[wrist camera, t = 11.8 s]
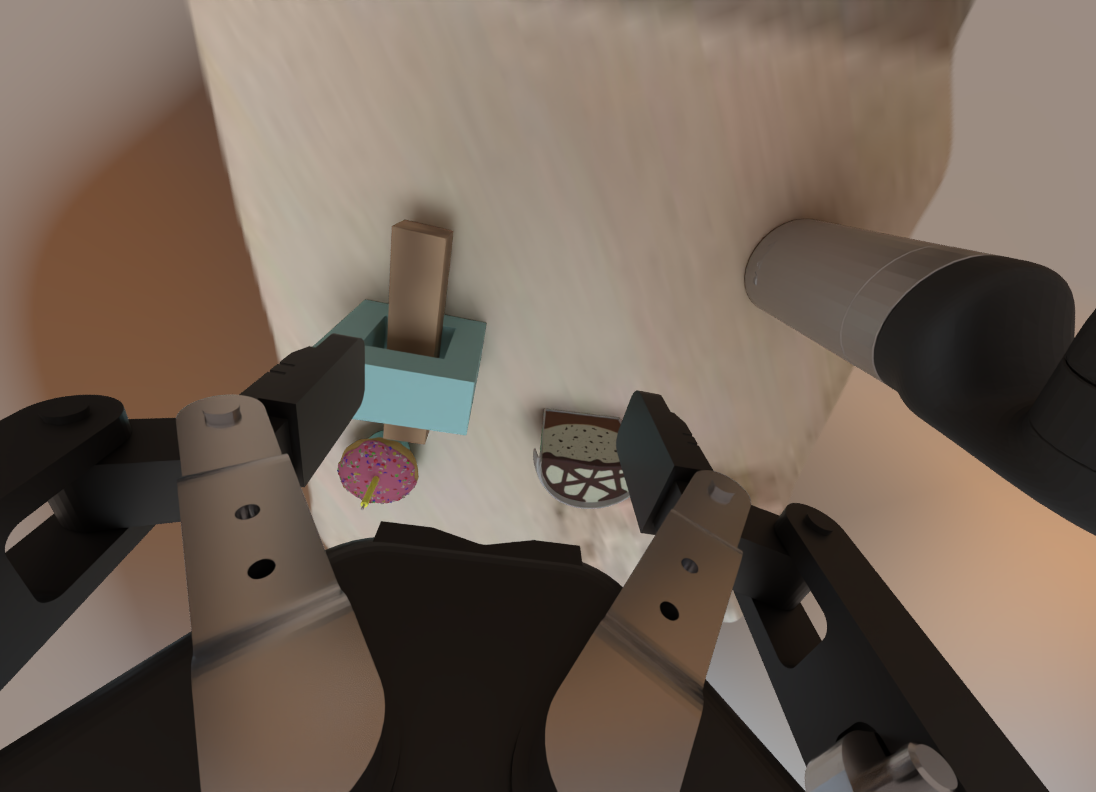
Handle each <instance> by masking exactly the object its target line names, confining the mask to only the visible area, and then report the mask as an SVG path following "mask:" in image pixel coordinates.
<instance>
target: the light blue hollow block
mask: <svg viewBox="0 0 1096 792" xmlns="http://www.w3.org/2000/svg"><path fill="white" fill-rule="evenodd" d="M388 311H389V304H386V303H381V302H376V301H371V300H366V299H365V300H364V301H363V302H362V303H361V304H360V305H359V306H357V307H356V308H355V309H354V310H353V311H352V312H351V313H350V314H349V315H347V316H346V317H345V318H344V319H343V320H342V321H341V322H340V323H338V324H337V325H336V326H335V327H334V328H333V329H332V330H331V331H330V332H328V333H327V334H326V335H325V336H324V337H323V338H322V339H321V340H320V341H318V342H317V343H316V344H315V345H314V346H313V347H317V346H318V345H319V344H320V343H321V342H323V341H324V340H325V339H326V338H327V337H328V336H330V335H331V334H332V333H336V334H341V335H346V336H352V337H357V338H362V339H363V341H364V344H365V392H364V397H363V401H362V404H361V406H360V408H359V409H358V411H357V412H356V414H355V415H354V417H353V418H352V419H357V420H364V421H371V422H378V423H385V424H392V425H398V426H405V427H412V428H419V429H426V430H433V431H440V432H447V433H453V434H460V435H466V434H467V429H468V424H469V419H470V414H471V408H472V403H473V398H474V393H475V387H476V382H477V377H478V372H479V366H480V360H481V354H482V348H483V342H484V335H485V329H486V323H484V322H479V321H474V320H469V319H464V318H458V317H453V316H448V315H444V320H443V329H442V338H441V347H440V356H439V358H434V357H428V356H423V355H417V354H411V353H406V352H400V351H394V350H389V349H387V335H388Z"/></svg>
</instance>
